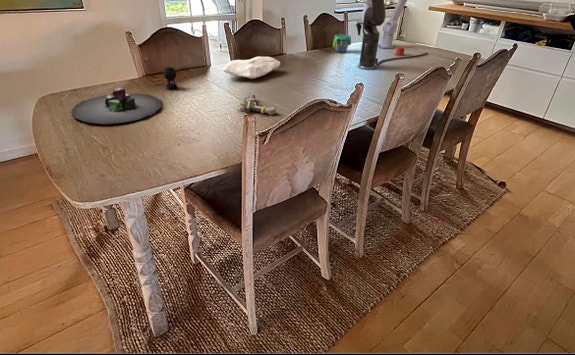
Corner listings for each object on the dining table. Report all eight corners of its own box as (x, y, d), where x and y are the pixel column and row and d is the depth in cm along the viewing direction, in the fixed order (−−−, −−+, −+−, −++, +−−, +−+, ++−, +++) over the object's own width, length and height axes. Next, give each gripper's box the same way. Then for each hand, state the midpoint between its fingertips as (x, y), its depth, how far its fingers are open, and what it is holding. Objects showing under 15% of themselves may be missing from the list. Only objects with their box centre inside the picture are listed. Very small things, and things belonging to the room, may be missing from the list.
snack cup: (344, 48, 256) (346, 33, 251) (354, 52, 249) (356, 36, 243) (327, 50, 249) (328, 35, 243) (337, 54, 241) (338, 38, 236)
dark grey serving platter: (174, 113, 149) (170, 91, 144) (79, 131, 131) (72, 107, 127) (148, 93, 173) (144, 73, 169) (65, 106, 156) (59, 85, 151)
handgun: (275, 94, 165) (242, 93, 164) (275, 109, 150) (239, 108, 149) (275, 100, 167) (242, 99, 166) (275, 115, 152) (239, 114, 151)
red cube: (396, 55, 245) (398, 48, 243) (395, 53, 250) (396, 46, 247) (404, 55, 245) (405, 48, 243) (402, 54, 250) (403, 46, 247)
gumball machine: (165, 90, 172) (162, 69, 166) (163, 86, 176) (159, 65, 171) (180, 88, 175) (177, 67, 169) (177, 85, 179) (174, 64, 174)
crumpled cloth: (210, 71, 195) (210, 54, 190) (264, 61, 214) (265, 46, 208) (233, 90, 182) (233, 73, 176) (288, 78, 201) (290, 62, 195)
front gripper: (356, -32, 211) (352, -1, 219) (336, -34, 218) (333, -4, 227) (350, -32, 206) (346, 0, 214) (329, -34, 213) (326, -3, 222)
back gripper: (358, 15, 245) (356, 36, 252) (379, 15, 248) (375, 36, 255) (355, 13, 251) (352, 34, 258) (375, 13, 253) (371, 34, 261)
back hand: (363, 35), depth 257 cm, fingers open, 7 cm apart
